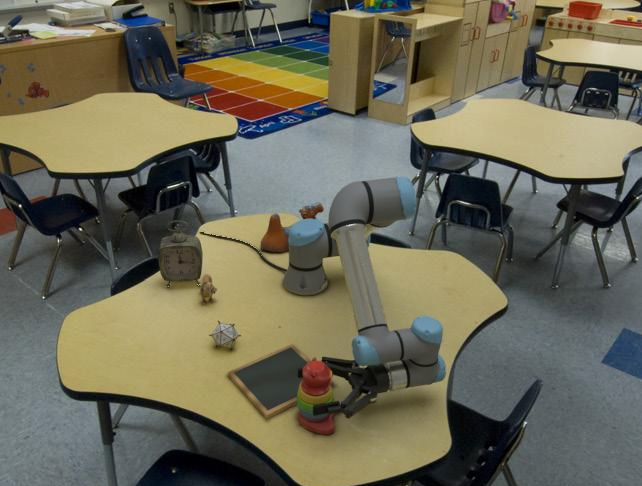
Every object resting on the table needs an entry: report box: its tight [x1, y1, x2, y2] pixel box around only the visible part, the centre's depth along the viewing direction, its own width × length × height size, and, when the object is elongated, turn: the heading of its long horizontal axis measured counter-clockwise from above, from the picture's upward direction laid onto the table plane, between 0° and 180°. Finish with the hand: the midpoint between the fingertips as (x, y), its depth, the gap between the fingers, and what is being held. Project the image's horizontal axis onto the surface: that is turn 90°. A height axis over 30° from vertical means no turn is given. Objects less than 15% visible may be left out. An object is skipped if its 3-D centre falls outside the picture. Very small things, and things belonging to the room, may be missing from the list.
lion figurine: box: [199, 274, 218, 305], centre depth 197 cm, size 15×5×9 cm, turn 14°
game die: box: [208, 320, 242, 351], centre depth 175 cm, size 9×8×10 cm
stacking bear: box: [296, 356, 338, 435], centre depth 147 cm, size 11×10×18 cm
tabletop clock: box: [157, 220, 204, 289], centre depth 201 cm, size 14×9×25 cm, turn 93°
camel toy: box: [260, 201, 325, 253], centre depth 224 cm, size 25×13×17 cm, turn 89°
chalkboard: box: [227, 343, 334, 420], centre depth 163 cm, size 20×22×2 cm
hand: (305, 391), depth 145 cm, fingers open, 13 cm apart
